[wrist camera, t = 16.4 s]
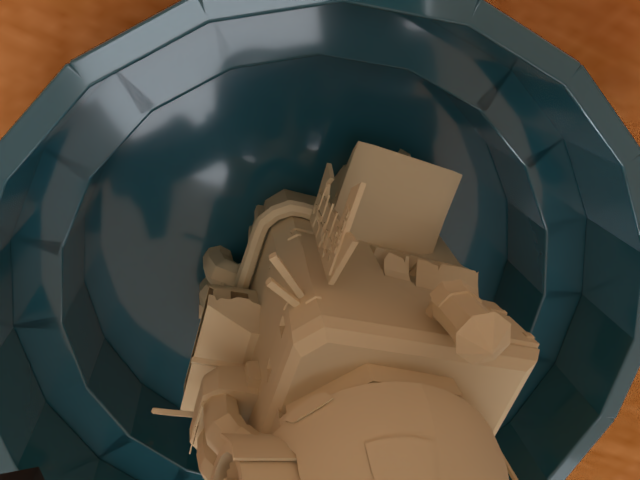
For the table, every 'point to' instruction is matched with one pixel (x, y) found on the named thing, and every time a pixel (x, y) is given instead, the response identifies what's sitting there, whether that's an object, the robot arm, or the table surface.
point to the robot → (352, 339)
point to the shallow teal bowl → (305, 177)
